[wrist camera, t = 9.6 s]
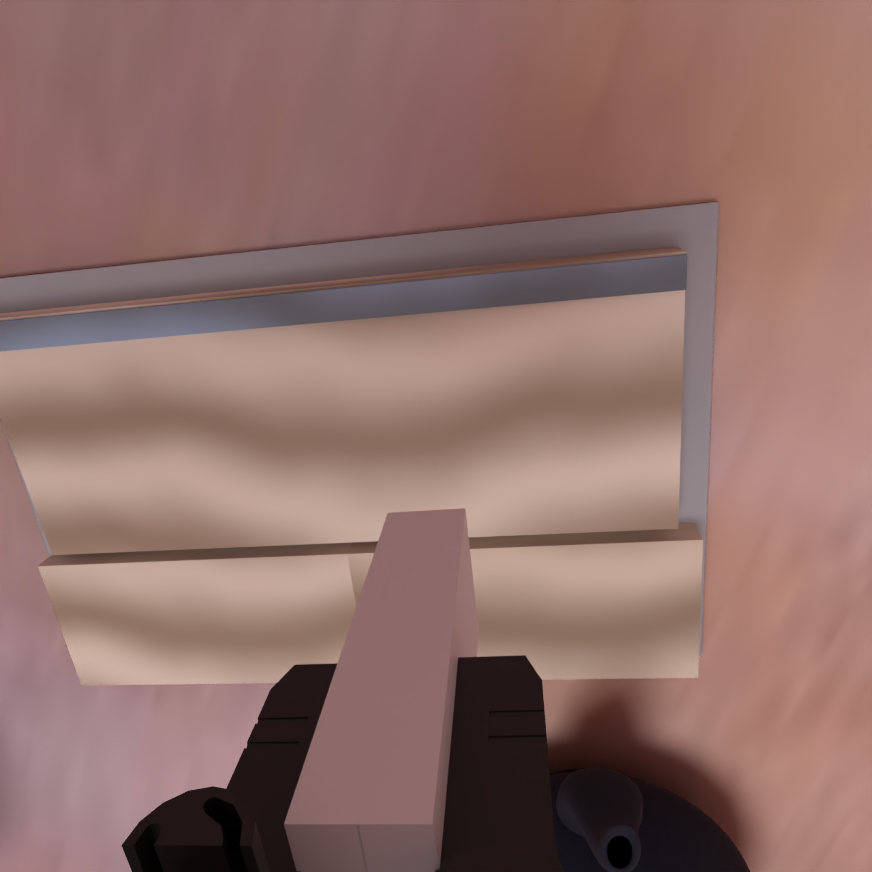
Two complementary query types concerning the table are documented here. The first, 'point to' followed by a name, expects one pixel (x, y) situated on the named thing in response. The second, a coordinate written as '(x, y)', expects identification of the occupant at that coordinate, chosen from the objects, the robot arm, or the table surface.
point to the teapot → (633, 827)
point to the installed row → (339, 593)
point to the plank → (355, 406)
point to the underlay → (437, 252)
